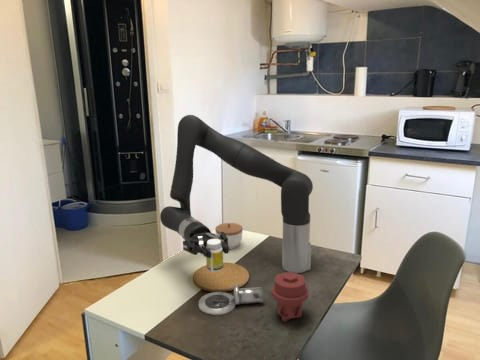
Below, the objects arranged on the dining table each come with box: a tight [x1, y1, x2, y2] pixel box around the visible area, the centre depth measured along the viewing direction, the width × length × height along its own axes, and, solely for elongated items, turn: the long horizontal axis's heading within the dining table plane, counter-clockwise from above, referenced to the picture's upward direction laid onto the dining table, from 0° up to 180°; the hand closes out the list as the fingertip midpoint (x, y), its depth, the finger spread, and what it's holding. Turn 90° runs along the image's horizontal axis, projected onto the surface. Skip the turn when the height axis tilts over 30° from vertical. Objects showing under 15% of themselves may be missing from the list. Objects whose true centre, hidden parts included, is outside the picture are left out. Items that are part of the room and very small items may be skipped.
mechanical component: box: [271, 271, 309, 323], centre depth 107 cm, size 12×10×10 cm
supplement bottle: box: [205, 239, 224, 273], centre depth 111 cm, size 5×5×8 cm
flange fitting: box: [198, 284, 264, 316], centre depth 114 cm, size 19×11×6 cm, turn 95°
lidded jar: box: [214, 222, 243, 250], centre depth 153 cm, size 11×11×9 cm
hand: (218, 252), depth 108 cm, fingers closed on supplement bottle, 4 cm apart
